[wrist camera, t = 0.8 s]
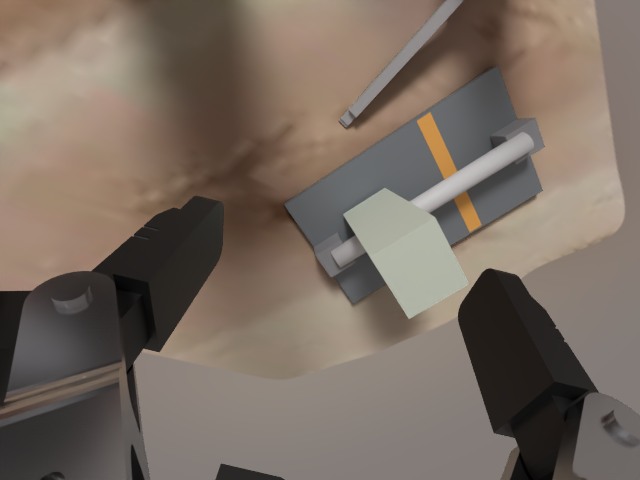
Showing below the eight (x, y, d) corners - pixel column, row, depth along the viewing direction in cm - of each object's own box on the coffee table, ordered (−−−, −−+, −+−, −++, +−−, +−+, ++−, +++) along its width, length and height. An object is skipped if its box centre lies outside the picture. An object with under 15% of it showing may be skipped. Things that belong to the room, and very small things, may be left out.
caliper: (500, -68, 26) (559, -126, 20) (507, -56, 27) (568, -110, 21) (337, 120, 30) (348, 117, 24) (345, 128, 31) (358, 127, 25)
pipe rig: (284, 203, 32) (283, 213, 28) (491, 67, 30) (523, 56, 25) (351, 299, 37) (359, 320, 33) (535, 188, 34) (569, 196, 30)
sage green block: (342, 214, 32) (369, 257, 21) (384, 187, 31) (435, 217, 20) (370, 258, 33) (409, 319, 23) (411, 234, 33) (469, 284, 22)
